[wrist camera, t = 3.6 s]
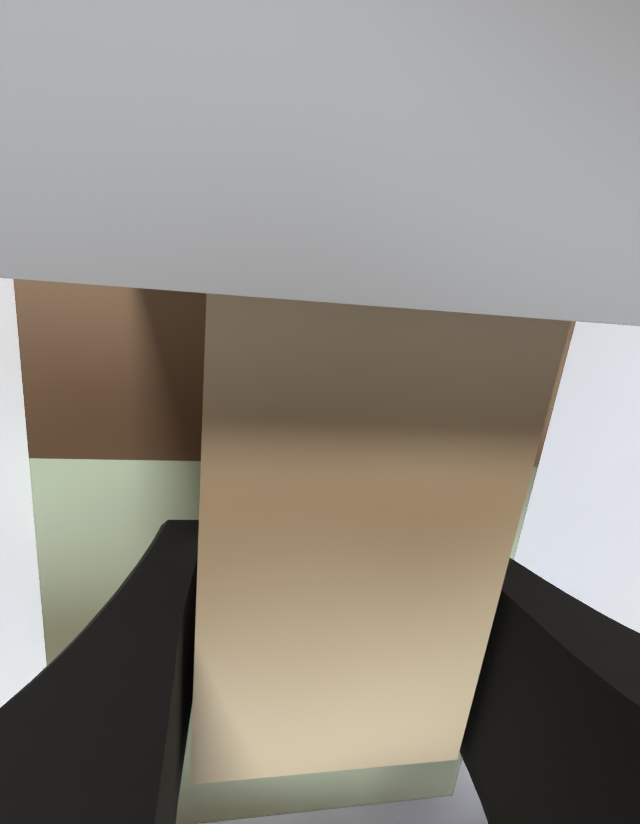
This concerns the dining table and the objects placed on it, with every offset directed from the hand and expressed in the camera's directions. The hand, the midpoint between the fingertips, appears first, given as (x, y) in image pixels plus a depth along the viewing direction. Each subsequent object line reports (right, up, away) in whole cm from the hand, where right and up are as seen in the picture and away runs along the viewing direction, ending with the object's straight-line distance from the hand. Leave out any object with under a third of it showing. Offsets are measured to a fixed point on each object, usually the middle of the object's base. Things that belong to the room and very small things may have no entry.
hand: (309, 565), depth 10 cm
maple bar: (0, +3, 0) cm, 3 cm away
